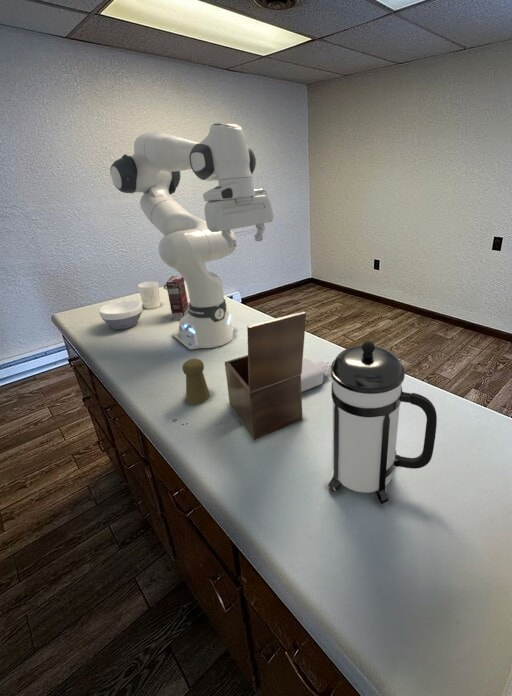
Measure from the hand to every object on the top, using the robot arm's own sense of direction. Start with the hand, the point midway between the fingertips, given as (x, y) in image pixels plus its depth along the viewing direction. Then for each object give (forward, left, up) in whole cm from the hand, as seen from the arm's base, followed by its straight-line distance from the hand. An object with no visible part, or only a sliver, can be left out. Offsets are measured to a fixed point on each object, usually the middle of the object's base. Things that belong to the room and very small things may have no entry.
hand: (246, 243), depth 98 cm
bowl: (-63, -9, -38) cm, 74 cm away
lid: (+27, -18, -16) cm, 37 cm away
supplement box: (-53, +9, -38) cm, 66 cm away
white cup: (-73, +8, -38) cm, 83 cm away
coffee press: (+50, -17, -38) cm, 65 cm away
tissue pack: (+19, +3, -38) cm, 42 cm away
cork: (0, -21, -38) cm, 43 cm away
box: (+19, -15, -38) cm, 45 cm away
